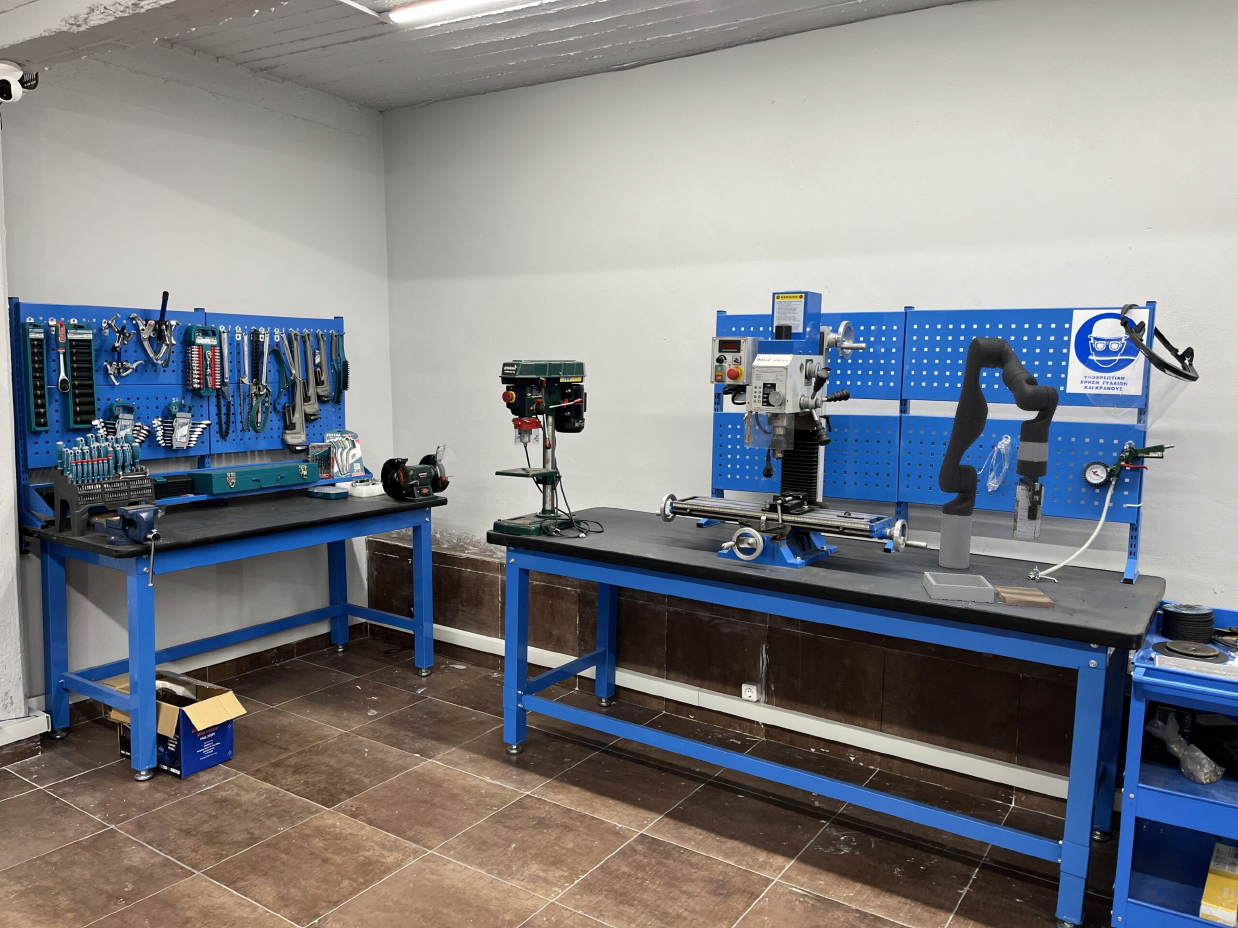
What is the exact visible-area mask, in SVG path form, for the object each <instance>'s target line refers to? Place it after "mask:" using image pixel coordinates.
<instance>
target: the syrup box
mask: <svg viewBox="0 0 1238 928" xmlns="http://www.w3.org/2000/svg"><path fill="white" fill-rule="evenodd" d="M1026 487H1029V486H1026ZM1025 492H1026V488H1025V486H1024V485H1019V484H1018V485H1017V486H1016V493H1015V494H1016V495H1015V506H1014V515H1013V517H1014V518H1013V526H1012V537H1013V538H1018V539H1027V540H1036V539H1038V538H1040V534H1041V526H1042V525H1041V524H1042V513H1043V506H1044V505H1043V503H1044V495H1045V493H1044V492H1045V486H1042V498H1041V505H1039V506H1037V507H1038V508H1037V519H1036V520H1029V519H1028V518H1027V516H1028V499H1026V496H1025ZM1035 492H1037V491H1035ZM1028 493H1029V494H1030V495H1031V492H1029V491H1028ZM1034 500H1036V498H1034Z"/></svg>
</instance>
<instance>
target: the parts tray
mask: <svg viewBox="0 0 1238 928" xmlns="http://www.w3.org/2000/svg"><path fill="white" fill-rule="evenodd" d="M922 584H923V587H924V589H925V590H926V592H927V593H928V595H929V596H930V598H931V599H932V600H942V599H948V600H947V601H957V600H962V601H961V602H971V601H975V602H974V603H986V602H989V603H988V604H990V603H991V604H994V601H995V600H994V599H995V593H994V590H995V589H994V588H993V585H992V584H991V583H990V582H988V580H986V578H985V577H984V576H983V575H978V574H977V575H976V574H961V573H960V574H959V573H946V572H934V571H933V572H932V571H930V572H929V571H924V572H923V583H922Z"/></svg>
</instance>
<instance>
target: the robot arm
mask: <svg viewBox="0 0 1238 928" xmlns="http://www.w3.org/2000/svg"><path fill="white" fill-rule="evenodd" d="M982 368H984V369H1001V370H1002V373H1001V379H1002V382H1003V384H1004V386H1005V387H1006V388H1007V389H1008V390H1009V391H1010V393H1012V394H1013V395H1012V396H1013V397H1014V398H1013V399H1014V401H1015V404H1016V407H1017V408H1018V409H1020V410H1022V411H1025V412H1038V413H1037V415H1036V416H1034V418H1033V419H1027V420H1024V421H1022V422H1021V424H1020V432H1019V444H1018V448H1017V459H1016V460H1017V461H1016V475H1018V476H1020V477H1019V482H1018V486H1019V485H1024V486H1025V488H1026V492H1025V496H1026V499H1028V516H1027V518H1028V519H1029V520H1036V519H1037V508H1038V507H1037V506H1039V505H1041V498H1042V486H1043V483H1042V482H1040V481H1039V478H1042V477H1043V478H1044V477H1046V476H1047V470H1048V459H1049V443H1048V442H1049V434H1050V427H1051V424H1052V421H1053V418H1054V415H1055V412H1056V410H1057V408H1058V405H1059V400H1060V396H1059V393H1058V390H1057V389H1056V388H1055V387H1054V386H1052V385H1039V384H1038V383H1039V382H1038V380H1037V378H1036V377H1035V376H1034V375H1033V374H1032V373H1031V372H1030V371H1028V369H1026V367H1024V365H1023V364H1022V363H1021V362H1020V360H1019V358H1018V356H1017V354H1016V353H1015V351H1014V349H1013V348H1012V346H1011V344H1010V343H1009V342H1008V340H1005V338H1000V337H988V336H976V337H974V338H973V339H971V342H970V343H969V345H968V349H967V355H966V358H965V366H964V375H963V381H962V386H961V390H960V395H959V399H958V403H957V407H956V410H955V415H954V418H953V419H954V420H953V424H952V429H951V433H950V434H951V435H950V438H949V441H948V444H947V445H948V446H947V448H946V451H945V455H944V458H943V460H942V462H941V463H942V464H941V467H940V470H939V473H938V481H937V482H938V487H939V489H940V491H941V492H943V493H947V494H957V495H956V497H954V498H953V499H952V500H950V501H948V502H944V503H943V504H942V506H941V507H942V508H941V524H940V536H939V537H940V538H939V553H938V565H939V566H940V567H943V568H949V569H962V570H963V569H964V570H965V569H968V568H969V567H970V557H971V556H970V555H971V539H972V527H973V511H974V509H975V505H976V496H977V489H978V480H979V479H978V472H977V469H976V468H975V466H974V465H971V464H960V463H961V461H962V459H963V456H964V455H965V454H966V452H967V450H968V449H969V448H970V447H972V445H973V444H974V443H975V442H976V441H977V440H978V439H979V438H980V436H981V435H982V434H983V432H984V430H985V428H986V423H987V418H988V415H989V405H988V402H987V400H986V398H985V395H984V393H983V390H982V387H981V384H980V383H981V382H980V375H981V371H982ZM1021 476H1022V477H1021ZM1026 486H1029V487H1026ZM1043 487H1044V486H1043ZM1028 491H1029V492H1031V495H1030V494H1029V493H1028ZM1035 491H1037V492H1035ZM1034 498H1036V500H1034Z"/></svg>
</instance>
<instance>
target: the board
mask: <svg viewBox="0 0 1238 928" xmlns="http://www.w3.org/2000/svg"><path fill="white" fill-rule="evenodd" d="M992 587H993V588H994V589H995V590H994V592H995V593H996V594H997V595H998V596H999V597H998V596H997V595H996V594H995V593H994V594H995V595H996V596H997V597H998V599H1000V600H1001V601H1002V602H1003V603H1004V604H1005V605H1006V606H1016V605H1017V607H1031V608H1032V607H1034V608H1049V609H1054V607H1055V602H1054V601H1053V600H1052V599H1050V598H1049V596H1047V595H1046V594H1045V593H1044V592H1042V591H1041V589H1039V588H1036V587H1019V586H1004V585H992Z"/></svg>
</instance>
